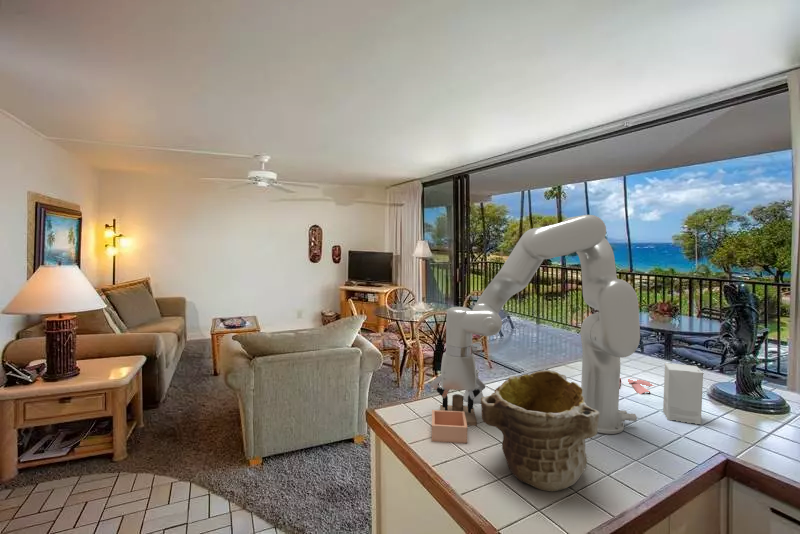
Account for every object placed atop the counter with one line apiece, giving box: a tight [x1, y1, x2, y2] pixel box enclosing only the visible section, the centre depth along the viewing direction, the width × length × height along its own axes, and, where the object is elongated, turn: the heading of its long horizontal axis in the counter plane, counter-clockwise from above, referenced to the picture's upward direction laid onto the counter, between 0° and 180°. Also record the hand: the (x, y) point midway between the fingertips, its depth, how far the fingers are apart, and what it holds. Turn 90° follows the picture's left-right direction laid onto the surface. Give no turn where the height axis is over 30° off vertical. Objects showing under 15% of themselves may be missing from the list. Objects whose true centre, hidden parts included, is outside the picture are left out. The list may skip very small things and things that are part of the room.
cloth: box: [619, 377, 654, 395], centre depth 135 cm, size 20×22×2 cm
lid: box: [439, 393, 478, 427], centre depth 109 cm, size 10×10×6 cm
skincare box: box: [662, 362, 704, 425], centre depth 109 cm, size 8×7×16 cm
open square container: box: [431, 409, 468, 444], centre depth 99 cm, size 9×9×4 cm
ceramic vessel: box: [480, 369, 600, 492], centre depth 82 cm, size 23×24×25 cm
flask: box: [462, 368, 485, 405], centre depth 121 cm, size 7×7×10 cm
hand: (457, 409), depth 109 cm, fingers open, 6 cm apart
